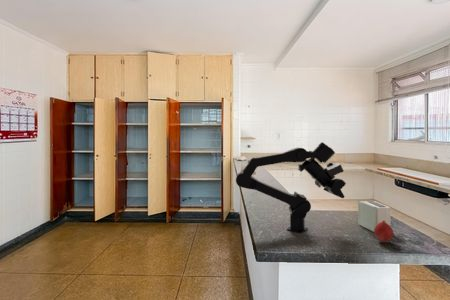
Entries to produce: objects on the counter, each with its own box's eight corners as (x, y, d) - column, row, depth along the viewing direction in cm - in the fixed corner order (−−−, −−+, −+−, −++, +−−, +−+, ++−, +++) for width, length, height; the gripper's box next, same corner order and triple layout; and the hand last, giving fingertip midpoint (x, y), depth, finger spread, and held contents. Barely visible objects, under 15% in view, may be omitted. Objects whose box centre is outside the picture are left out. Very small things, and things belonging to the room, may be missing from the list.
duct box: (377, 233, 104) (377, 207, 104) (363, 224, 115) (363, 200, 115) (390, 232, 104) (390, 206, 104) (374, 223, 115) (374, 200, 115)
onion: (370, 239, 98) (370, 218, 98) (385, 238, 98) (385, 217, 98) (381, 245, 92) (381, 222, 92) (397, 244, 92) (397, 222, 92)
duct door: (373, 231, 105) (373, 206, 104) (358, 224, 115) (358, 201, 114) (376, 231, 105) (376, 206, 104) (360, 223, 115) (360, 201, 114)
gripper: (340, 158, 99) (369, 187, 99) (321, 155, 118) (346, 179, 118) (319, 179, 99) (348, 208, 100) (304, 173, 118) (329, 197, 118)
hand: (343, 197), depth 109 cm, fingers closed
